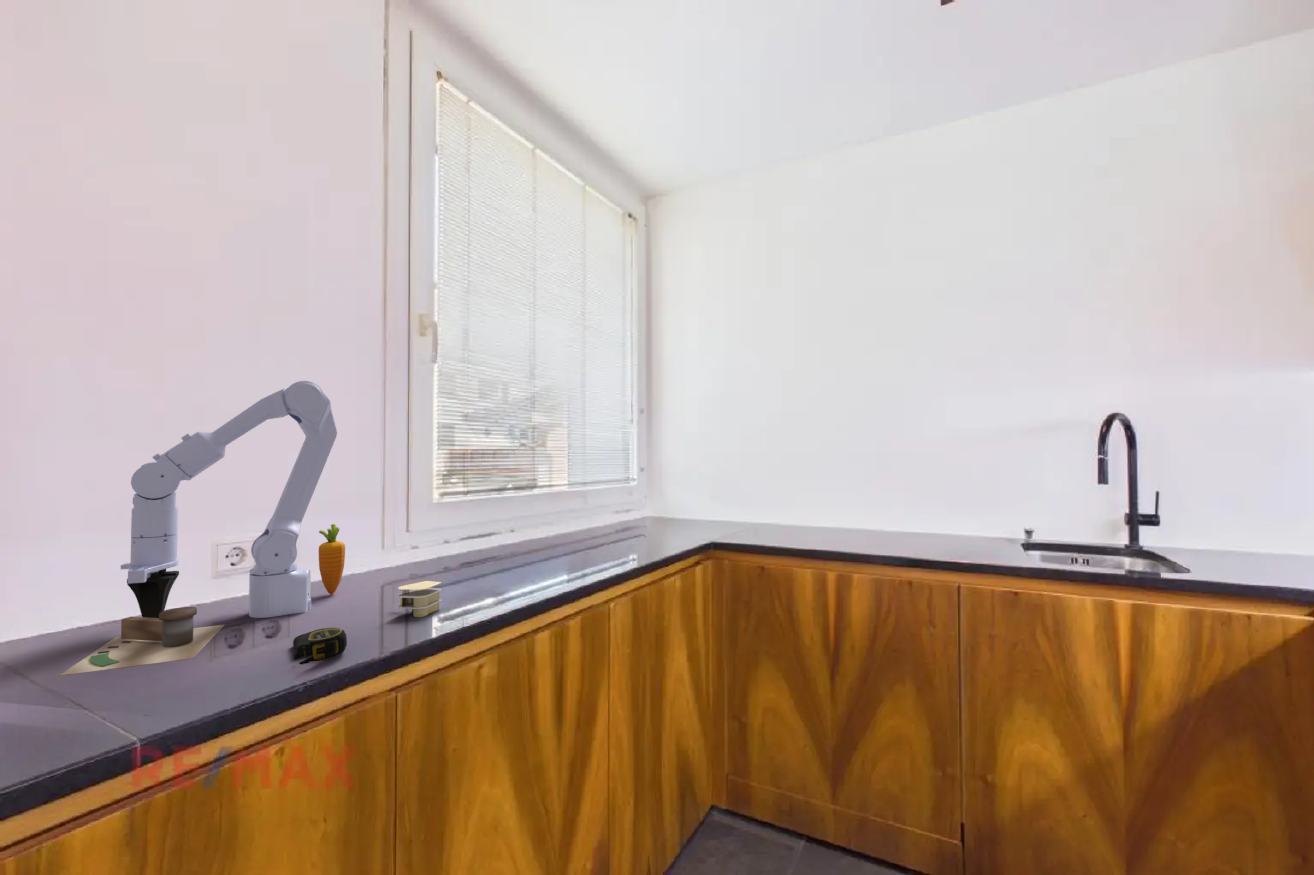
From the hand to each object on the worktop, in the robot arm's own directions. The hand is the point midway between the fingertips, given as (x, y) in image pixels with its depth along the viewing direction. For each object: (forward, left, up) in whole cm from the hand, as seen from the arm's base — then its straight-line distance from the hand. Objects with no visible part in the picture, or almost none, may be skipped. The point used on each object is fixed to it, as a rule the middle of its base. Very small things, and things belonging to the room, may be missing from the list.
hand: (152, 618), depth 92 cm
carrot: (-24, -20, -4) cm, 31 cm away
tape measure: (-25, +22, -4) cm, 34 cm away
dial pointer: (-3, +8, -2) cm, 9 cm away
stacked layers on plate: (-40, +3, -4) cm, 41 cm away
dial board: (-3, +10, -3) cm, 11 cm away
